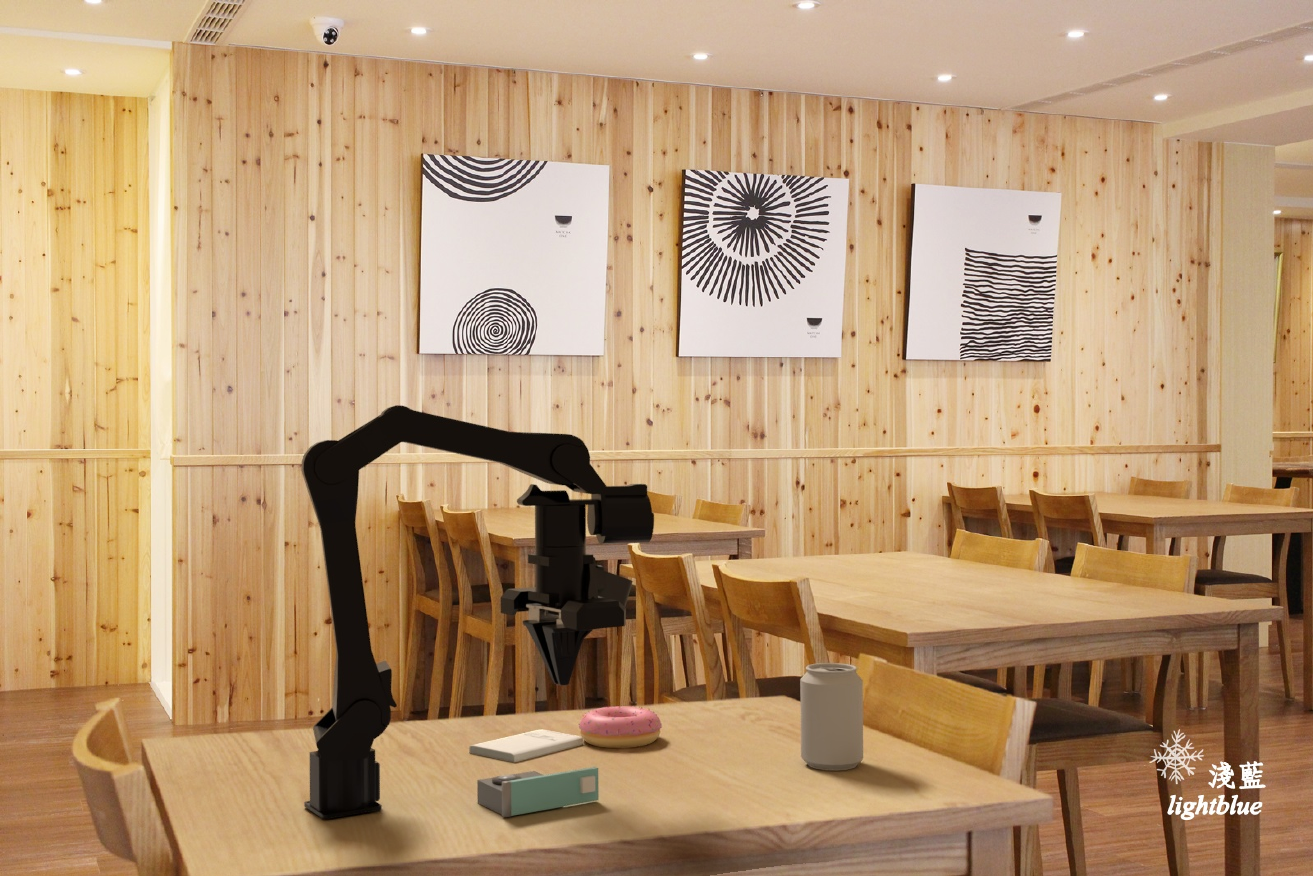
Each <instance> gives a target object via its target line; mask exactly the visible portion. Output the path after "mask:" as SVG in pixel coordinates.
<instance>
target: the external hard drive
mask: <svg viewBox="0 0 1313 876" xmlns="http://www.w3.org/2000/svg"><path fill="white" fill-rule="evenodd" d="M583 745H584V739H583V738H582V736H581V735H575V734H568V733H565V732H564V733H563V732H559V731H553V730H549V729H542V728H541V729H536V730H535V729H534V730H531V731H526V732H523V733H519V734H515V735H514V734H513V735H509V736H506V737H501V738H497V739H492V740H488V741H484V742H480V743H475V744H471V745H469V748H468V749H469V754H471V755H477V756H481V757H486V758H491V759H496V760H499V761H504V762H505V761H506V762H510V763H517V762H518V763H519V762H523V761H525V760H530V759H534V758H537V757H540V756H541V757H542V756H544V755H545V756H546V755H550V754H553V753H556V752H560V751H563V750H569V749H572V748H576V747H579V746H583Z"/></svg>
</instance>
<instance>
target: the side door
mask: <svg viewBox="0 0 1313 876" xmlns="http://www.w3.org/2000/svg"><path fill="white" fill-rule="evenodd" d="M599 797H600V795H599V767H596V766H592V767H585V768H579V769H573V770H567V771H561V772H554V773H548V774H543V775H541V776H535V777H529V778H523V779H517V780H511V781H503V782H502V815H501V817H504V818H510V817H513V816H517V815H524V814H528V813H534V812H540V811H547V810H552V809H556V808H563V807H568V806H573V805H580V804H584V803H590V802H596V801H599V799H600V798H599Z"/></svg>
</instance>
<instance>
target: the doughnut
mask: <svg viewBox="0 0 1313 876" xmlns="http://www.w3.org/2000/svg"><path fill="white" fill-rule="evenodd" d="M578 725H579V726H578V728H579V729H580V733H579V735H580V737H582V738H583V741H585V742H586V743H587V744H590V745H592V746H594V747H598V748H599V747H600V748H607V749H630V748H636V747H637V746H639V747H643V746H648V745H650V744H652V743H654V742H655V741H657V739H658V738H659V737H660V734H661V729H662V727H663V726H662V722H661V720H660V716H659V715H658V714H657V713H655V712H654V711H652V710H650V709H649V708H643V706H625V705H624V706H622V705H619V706H615V705H613V706H608V705H606V706H603V707H601V708H600V707H599V708H595V709H591V710H588V711H587V712H586V713H585V714H583V715H582V718H580V722H579V723H578ZM647 744H648V745H647Z"/></svg>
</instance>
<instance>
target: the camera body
mask: <svg viewBox="0 0 1313 876" xmlns="http://www.w3.org/2000/svg"><path fill="white" fill-rule="evenodd" d="M541 775H544V774H542V773H540V772H538V771H535V770H532V771H531V770H530V771H525V772H519V773H511V774H504V775H502V774H501V775H497V776H495V777H494V776H493V777H488V778H480V779H477V780H476V782H477V787H476V788H477V791H476V792H477V804H479V805H480V806H482V807H485V808H487V809H489V810H491V811H492V812H495V813H497V814H499V815H500V816H502V782H503V781H511V780H517V779H523V778H529V777H535V776H541Z"/></svg>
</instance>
